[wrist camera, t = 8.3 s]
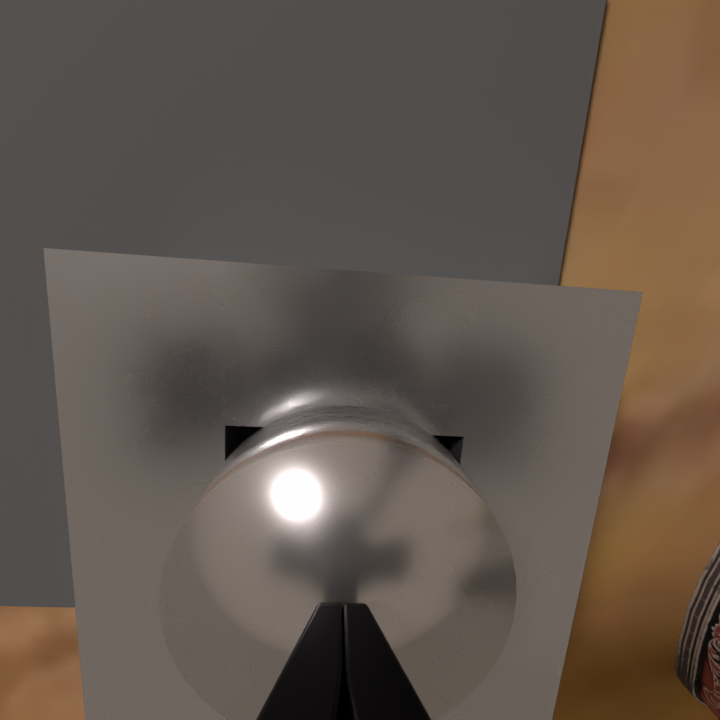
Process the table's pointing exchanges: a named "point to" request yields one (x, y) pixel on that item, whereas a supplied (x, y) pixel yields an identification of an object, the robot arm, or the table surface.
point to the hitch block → (311, 390)
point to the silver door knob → (337, 558)
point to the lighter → (702, 639)
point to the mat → (266, 168)
